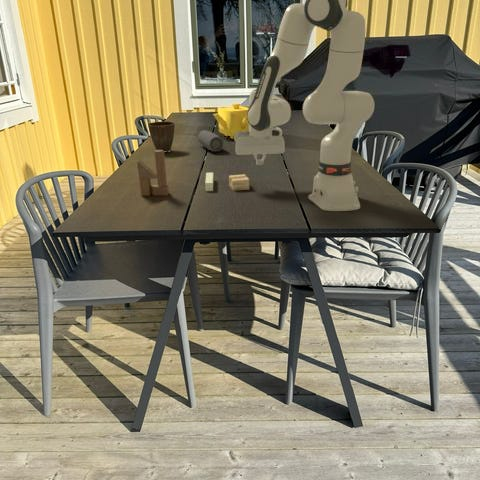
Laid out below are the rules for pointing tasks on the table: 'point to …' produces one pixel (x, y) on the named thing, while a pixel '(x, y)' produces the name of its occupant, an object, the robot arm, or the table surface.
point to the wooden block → (153, 177)
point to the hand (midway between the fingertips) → (259, 164)
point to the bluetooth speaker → (210, 140)
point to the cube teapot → (232, 120)
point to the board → (209, 182)
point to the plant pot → (162, 134)
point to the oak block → (239, 182)
